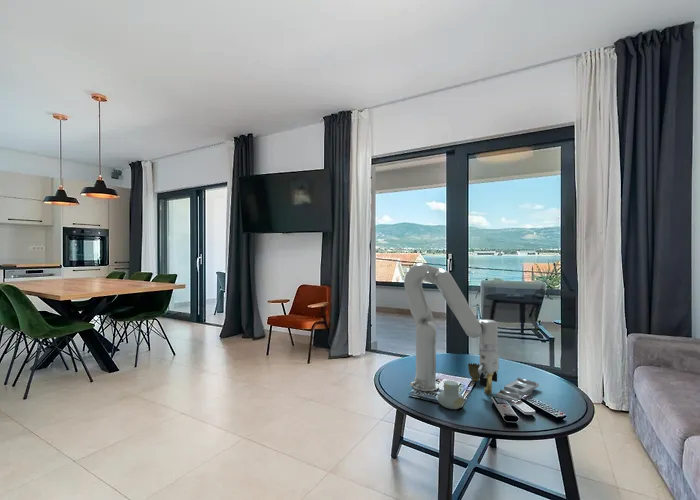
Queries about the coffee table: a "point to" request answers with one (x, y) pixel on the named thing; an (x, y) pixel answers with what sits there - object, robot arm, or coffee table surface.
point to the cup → (474, 371)
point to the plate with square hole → (517, 389)
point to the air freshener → (451, 396)
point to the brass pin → (488, 384)
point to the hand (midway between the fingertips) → (488, 383)
